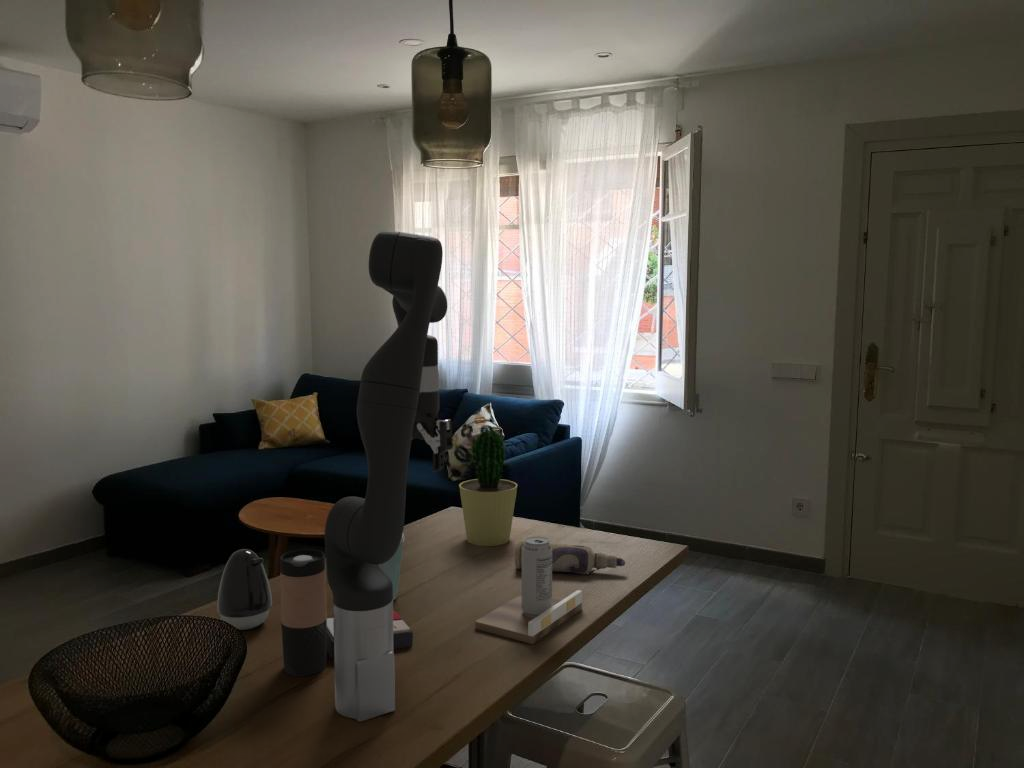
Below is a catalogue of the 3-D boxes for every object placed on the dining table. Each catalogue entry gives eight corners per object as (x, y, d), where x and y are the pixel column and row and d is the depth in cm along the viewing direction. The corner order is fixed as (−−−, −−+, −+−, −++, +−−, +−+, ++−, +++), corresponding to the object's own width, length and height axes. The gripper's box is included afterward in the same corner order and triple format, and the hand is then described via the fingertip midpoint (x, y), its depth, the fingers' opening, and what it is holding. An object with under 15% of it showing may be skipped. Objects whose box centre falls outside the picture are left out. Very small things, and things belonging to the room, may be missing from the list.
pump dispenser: (243, 640, 153) (240, 561, 152) (206, 628, 159) (203, 552, 157) (284, 621, 162) (282, 547, 160) (248, 610, 167) (246, 538, 166)
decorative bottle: (512, 574, 191) (513, 546, 190) (518, 563, 198) (518, 537, 197) (624, 581, 186) (624, 552, 185) (625, 570, 193) (626, 543, 193)
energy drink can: (536, 605, 167) (537, 534, 165) (557, 613, 163) (558, 540, 161) (515, 613, 163) (515, 540, 161) (536, 622, 159) (537, 547, 157)
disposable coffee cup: (395, 609, 168) (395, 539, 167) (346, 605, 170) (345, 535, 169) (412, 591, 179) (411, 524, 177) (365, 587, 181) (364, 521, 179)
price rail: (533, 636, 152) (533, 623, 152) (528, 635, 152) (528, 622, 152) (582, 602, 169) (583, 591, 168) (577, 601, 169) (577, 589, 169)
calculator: (413, 628, 151) (333, 638, 145) (412, 650, 151) (332, 661, 145) (396, 607, 161) (319, 616, 154) (395, 628, 161) (319, 638, 155)
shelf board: (532, 644, 152) (532, 636, 152) (475, 628, 159) (475, 621, 159) (581, 609, 169) (582, 602, 169) (528, 596, 176) (528, 590, 176)
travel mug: (309, 653, 148) (307, 546, 146) (336, 665, 143) (334, 555, 141) (273, 668, 142) (270, 556, 140) (300, 681, 137) (297, 566, 135)
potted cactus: (492, 527, 227) (493, 421, 224) (529, 540, 215) (530, 428, 212) (447, 538, 217) (447, 426, 214) (482, 552, 206) (483, 434, 202)
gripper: (460, 388, 161) (460, 469, 162) (404, 384, 168) (405, 461, 170) (437, 392, 154) (437, 476, 156) (380, 387, 162) (381, 467, 164)
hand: (420, 468), depth 163 cm, fingers open, 8 cm apart
